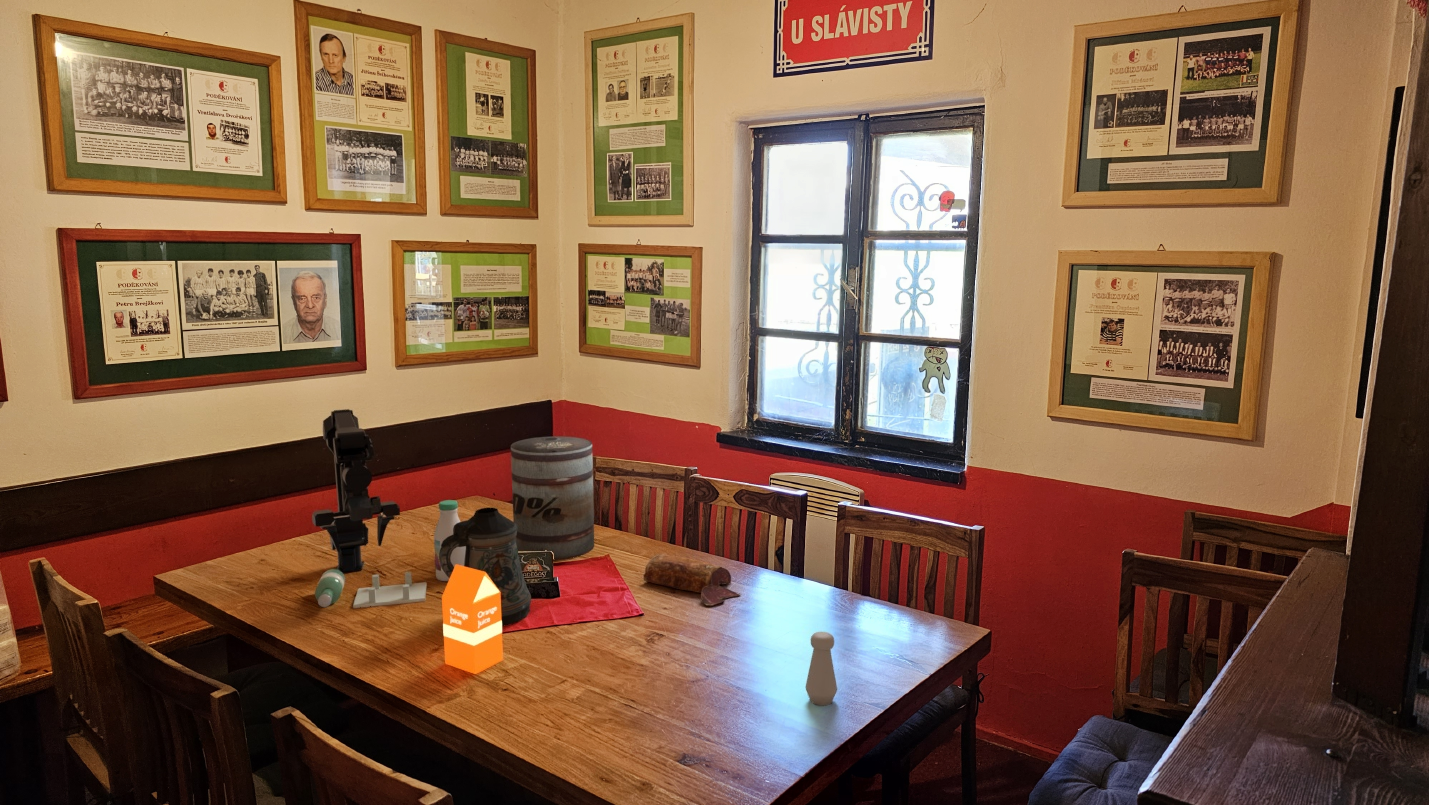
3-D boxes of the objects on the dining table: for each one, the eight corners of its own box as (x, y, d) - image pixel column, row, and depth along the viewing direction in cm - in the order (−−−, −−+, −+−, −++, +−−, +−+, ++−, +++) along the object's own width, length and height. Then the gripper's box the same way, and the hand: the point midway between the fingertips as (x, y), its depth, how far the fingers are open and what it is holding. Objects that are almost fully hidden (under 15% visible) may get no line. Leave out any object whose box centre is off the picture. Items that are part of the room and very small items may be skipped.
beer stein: (545, 607, 208) (542, 504, 204) (492, 639, 191) (487, 527, 187) (489, 596, 215) (485, 496, 211) (433, 625, 198) (427, 518, 194)
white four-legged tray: (353, 608, 207) (352, 592, 207) (358, 591, 218) (357, 576, 217) (424, 601, 212) (424, 585, 211) (426, 585, 222) (425, 570, 222)
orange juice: (475, 674, 174) (470, 577, 171) (444, 663, 179) (439, 569, 176) (503, 659, 181) (500, 566, 178) (473, 649, 186) (469, 558, 182)
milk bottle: (471, 572, 232) (468, 498, 228) (460, 582, 224) (456, 506, 221) (443, 571, 232) (439, 497, 229) (431, 581, 225) (427, 505, 222)
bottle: (321, 592, 217) (319, 569, 217) (345, 590, 219) (344, 568, 218) (311, 614, 204) (310, 590, 203) (338, 611, 206) (337, 588, 205)
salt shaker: (803, 693, 167) (804, 628, 165) (832, 692, 168) (834, 627, 165) (808, 708, 161) (810, 641, 159) (839, 707, 162) (841, 640, 160)
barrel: (501, 544, 254) (497, 442, 249) (571, 530, 267) (568, 433, 263) (535, 566, 236) (532, 456, 231) (608, 549, 250) (606, 446, 245)
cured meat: (718, 611, 207) (718, 582, 206) (632, 590, 220) (632, 563, 219) (755, 588, 222) (756, 562, 221) (673, 570, 235) (674, 545, 234)
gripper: (316, 494, 197) (321, 563, 198) (402, 483, 206) (407, 549, 208) (309, 487, 206) (314, 553, 208) (392, 477, 216) (397, 540, 217)
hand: (359, 549), depth 210 cm, fingers open, 9 cm apart
